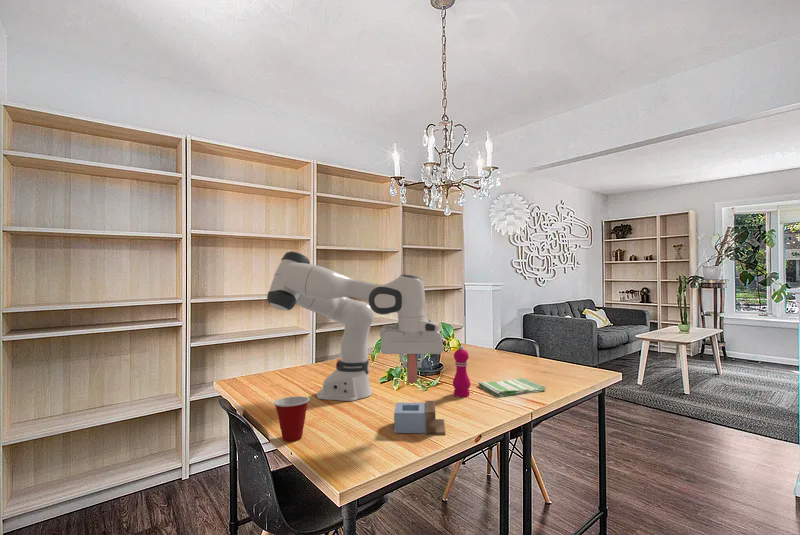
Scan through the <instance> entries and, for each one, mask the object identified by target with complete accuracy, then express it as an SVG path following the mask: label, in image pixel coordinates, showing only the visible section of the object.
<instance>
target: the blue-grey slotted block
mask: <svg viewBox="0 0 800 535" xmlns="http://www.w3.org/2000/svg"><path fill="white" fill-rule="evenodd" d="M393 419H394V420H393V421H394V423H393V427H394V429H393V430H394V431H393V432H394V433H395V434H426V402H396V403H395V407H394V412H393Z"/></svg>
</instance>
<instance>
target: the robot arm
mask: <svg viewBox="0 0 800 535" xmlns="http://www.w3.org/2000/svg"><path fill="white" fill-rule="evenodd" d="M280 260H281V261H280V263H279V264H278V266H277V269H276V271H275V272H274V275H273V279H272V280H271V281H272V282H271V285H270V287H269V291H267V295H266V296H267V297H266V302H267V303H268V304H269V305H270V306H271V307H273V309H275V310H278V311H291V310H292V309H293V308H294V307H295V306H299V307H301V308H304V309H306V310H309V311H311V312H313V313H316V314H318V315H321V316H324V317H326V318H328V319H330V320H333V321H335V322H337V323H339V324H342V325H344V331H343V336H342V338H341V340H340V358H338V359H337V360H336V363H335V368H336V369H335V370H334V371H333V372H331V373H330V374H329V375H328V376H327V377H325V379H324V381H323V383H322V388H321V389H319V391H318V392H317V393H316V398H317V399H318V400H329V401H343V402H345V401H346V402H354V401H356V400H359V399H360V400H361V399H364V398H368V397H370V396H371V395H372V394H373V391H372V388H371V385H370V384H371V383H370V377H369V373H370V362H369V361H370V360H369V358H368V355H369V353H368V346H369V345H368V343H369V342H368V341H369V334H370V330H371V326H372V324H373V322H374V320H375V314H378V315H382V316H383V315H385V316H386V315H390V314H392V313H396V314H397V324H384V325H383V326H381V327H380V329H379V337H380V338H381V340H380V341H381V342H380V353H382V355H398V358H399V360H400V361H401V363H402V368H403V369H404V368H405V369H407V360H405V359H404V356H405V355H407V354H417V355H420V360H417V369H420V368H421V369H422V363H423V361H424V359H425V357H426V355H441V354H443V352H444V342H443V337H442V334H441V332H440V331H439V330H440V325H439V323H438V322H436V321H433V320H430V319H428V318H427V319H426V312H425V304H426V294H425V293H426V291H425V283H424V281H423V279H422V278H421V277H419V276H417V275H414V274H413V275H411V274H401V275H399V276H398V277H396V278H395V279H393V280H391V281H390V282H386V283H384V284H377V283H372V282H368V281H362V280H359V279H355V278H352V277H349V276H347V275H344V274H342V273H339V272H338V271H334V270H332V269H329V268H327V267H324V266H320V265H316V264H313V263H311V262H310V260H309V257H308V256H306V255H304V254H303V253H301V252H298V251H289V252H288V251H287V252H285V254H284V255H283V256H282V258H281V259H280ZM353 298H355V299H353ZM356 299H359V300H356ZM361 300H363V301H361ZM365 301H368V303H367V302H365Z"/></svg>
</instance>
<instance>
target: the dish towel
mask: <svg viewBox="0 0 800 535" xmlns="http://www.w3.org/2000/svg"><path fill="white" fill-rule="evenodd" d="M477 383H478V386H479V388H480V389H483V390H484V391H486V392H488V393H490V394H492V395H494V396H496V397H498V398H502V397H504V398H505V397H510V396H516V395H518V396H519V395H526V394H532V393H539V392H544V391H546V389H547V386H545V385H541V384H538V383H536V382H534V381H531V380H529V379H526V378H525V377H519V378H516V379H515V378H514V379H508V380H499V381H478V382H477Z"/></svg>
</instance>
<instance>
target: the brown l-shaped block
mask: <svg viewBox="0 0 800 535" xmlns="http://www.w3.org/2000/svg"><path fill="white" fill-rule="evenodd" d="M425 403H426V433H425V435H429V436H430V435H437V436H438V435H439V436H442V435H443V436H444V435H446V425H445V419H444V418H439V419H438V418H436V400H425Z"/></svg>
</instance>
